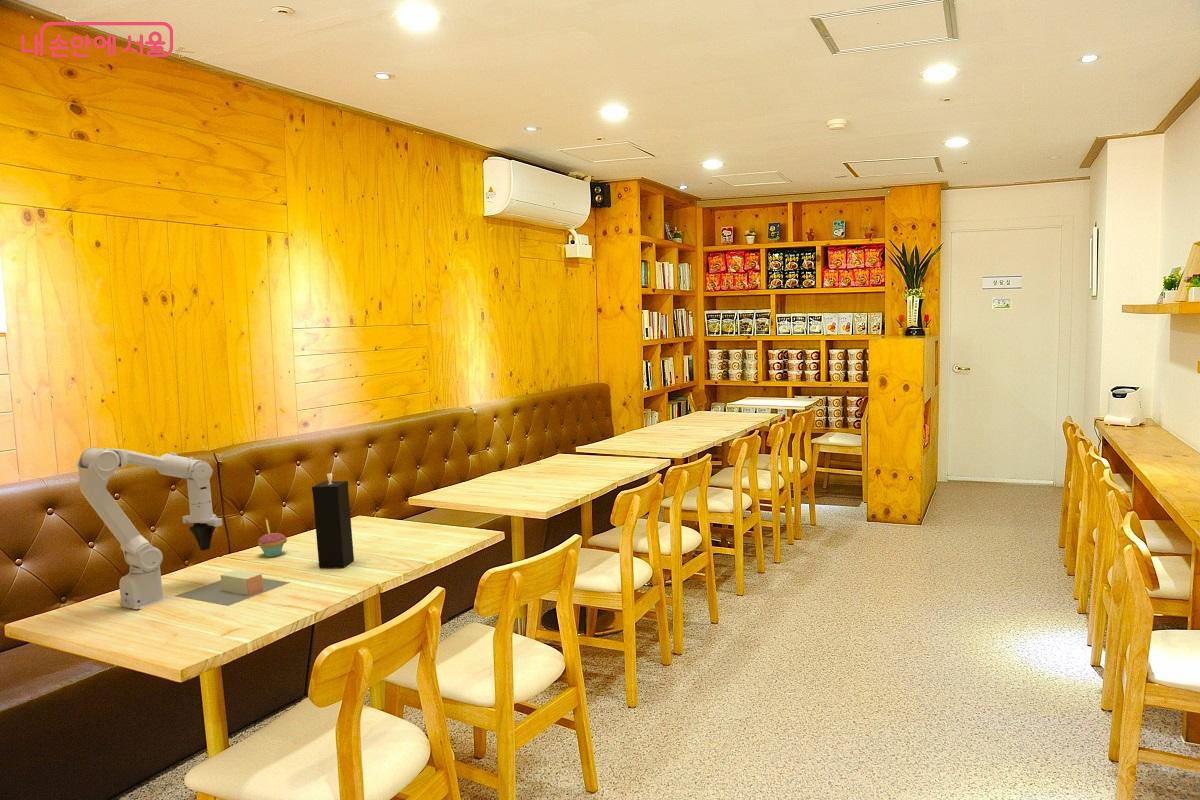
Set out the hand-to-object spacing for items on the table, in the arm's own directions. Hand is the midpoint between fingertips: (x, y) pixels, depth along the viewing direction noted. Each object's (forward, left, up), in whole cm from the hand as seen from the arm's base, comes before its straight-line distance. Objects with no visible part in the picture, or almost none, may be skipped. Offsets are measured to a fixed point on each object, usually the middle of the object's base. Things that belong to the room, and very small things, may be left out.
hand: (205, 549), depth 234 cm
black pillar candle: (+28, -21, -11) cm, 37 cm away
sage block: (-1, -10, -8) cm, 13 cm away
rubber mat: (-1, -12, -10) cm, 16 cm away
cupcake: (+29, +8, -11) cm, 32 cm away
